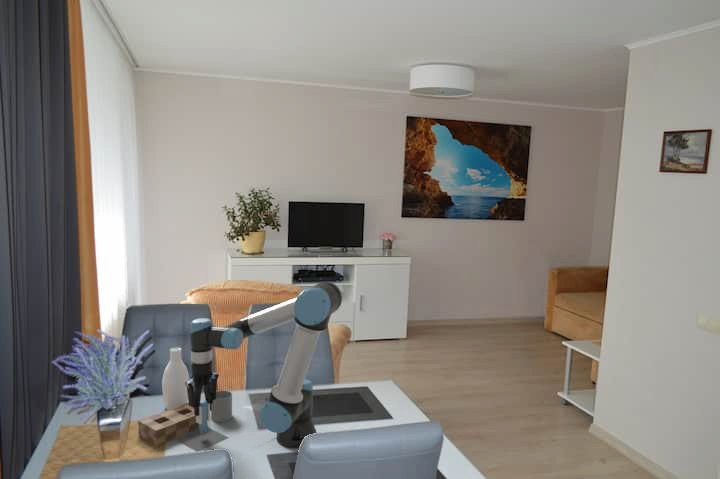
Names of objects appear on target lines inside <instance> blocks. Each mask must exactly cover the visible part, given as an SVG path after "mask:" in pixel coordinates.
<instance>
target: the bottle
mask: <svg viewBox="0 0 720 479" xmlns="http://www.w3.org/2000/svg"><path fill="white" fill-rule="evenodd" d="M169 353H170V354H169V362H168V363H167V365H166V366H165V368H164V372H163V375H162V379H161V385H162V386H161V388H162V398H163V404H164V405H163V406H164V409H166V411H167V410H170V409H172V408H175V407H178V406H181V405H183V404H186V403H189V401H188V392H187V387H186V385H185V382H189V381H190V380H191V379H190V374H189V372H188V367H187V366H186V365H185V363H184V361H183V360H182V348H181V347H172V348H170V349H169Z"/></svg>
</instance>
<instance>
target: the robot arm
mask: <svg viewBox="0 0 720 479" xmlns="http://www.w3.org/2000/svg"><path fill="white" fill-rule="evenodd" d="M342 302H343V295H342V291H341V289H340V288H339V286H338V285H336V284H335V283H333V282H330V281H321V282H319V283H317V284H315V285H313V286H310V287H308V288H305V289H304V290H303V291H301V292H300V293H299V294H297V296H296V297H293V298H292V299H288V300H286V301H284V302H281V303H279V304H276V305H273V306H270V307H268V308H266V309H264V310H260V311H258V312H255V313H252V314H250V315H248V316H244V317H242V318H240V319H237V320H236V321H234V322H231V323H229V324H227V325H225V326H216V325H213V323H212V320H211V319H210V318H205V317H204V318H196V319H194V320H192V321H191V322H190V332H189V333H190V360H191V363H190V365H191V366H190V367H191V369H190V370H191V371H190V372H191V374H192V375H191V377H190V379H189V380H190V381H189V382H185V385H186V387H187V392H188V403H189V406H191V407H193V408H194V415H196V423H199V424H202V407H201V406H200V401H202V400H201V399H202V398H201V397H202V390H203V393H204V401H207V422H209V421H211V404H212V403H213V400H215V399H216V392H217V391H218V390H217V388H218V387H217V386H218V378H219V373H216V372H213V348H219V349H226V350H238V349H239V348H240V347H241V346H242V344H243V341H244V340H245V339H247V338H249V337H252V336H255V335H257V334H260V333H262V332H266V331H268V330H270V329H273V328H277V327H279V326H282V325H284V324H287V323H289V322H292V321H293V322H294V323H295V325H296V326H295V328H294V332H293V335H292V337H291V341H290V345H289V347H288V351H287V354H286V357H285V361H284V363H283V366H282V368H281V369H282V370H281V371H280V375H279V378H278V382H277V384H275V385H273V386H272V387H271V388H270V389H271V390H270V393H269V396H268V398H267V401H266V402H265V403H264V404H262V407H261V408H260V410H259V418H260V422H261V423H262V425H263V427H264V428H265V429H267V431H269V432H270V433H271V432H272V433H274V434H275V433H276V441H277V443H278V444H279V445H281V446H284V447H287V448H295V449H297V448H300V447H299V446H300V444H301V442H302V440H303V439H304V437H305V436H307V435H309V434H313V433H316V434H317V429H316V427H315V424H314V423H315V422H314V421H313V402H314V400H313V399H314V398H313V395H314V389H313V382H312V381H311V380H309V379H306V377H307V373H308V371H309V367H310V365H311V362H312V359H313V356H314V353H315V349H316V346H317V344H318V341H319V338H320V334H321V333H323V332H325V331H326V330H327V328H328V324H329V322H330V319H331V317H332V315H333V314H334V313H336V312H337V311H338V310H339V309H340V307H341V306H342Z"/></svg>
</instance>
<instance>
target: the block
mask: <svg viewBox="0 0 720 479" xmlns="http://www.w3.org/2000/svg"><path fill="white" fill-rule="evenodd" d="M137 421H138V436H139V435H140V436H139V437H141V436H142V437H141V438H143V439H144V438H145V439H144V440H146V441H147V442H149V441H150V443H151V442H152V443H151V444H153V445H154V444H155V446H156V445H157V446H158V445H161V444H164V443H166V442H169V441H171V440H175V439H177V438H179V437H182V436H184V435H187V434H189V433H192V432H194V431H196V430H199V423H196V415H194V408H193V407H191V406H189V402H188V403H186V404H183V405H181V406H178V407H175V408H172V409H170V410H167V409H166V410H164V411H162V412H159V413H156V414H153V415H151V416H148V417H145V418H142V419H140V420H137Z"/></svg>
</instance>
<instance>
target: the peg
mask: <svg viewBox="0 0 720 479" xmlns="http://www.w3.org/2000/svg"><path fill="white" fill-rule="evenodd" d="M200 406H201V407H202V424H199V428H198V430H199V434H200V435H205V434H207V433H208V428H209V427H208V421H207V401H206V400H200ZM207 427H208V428H207Z"/></svg>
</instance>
